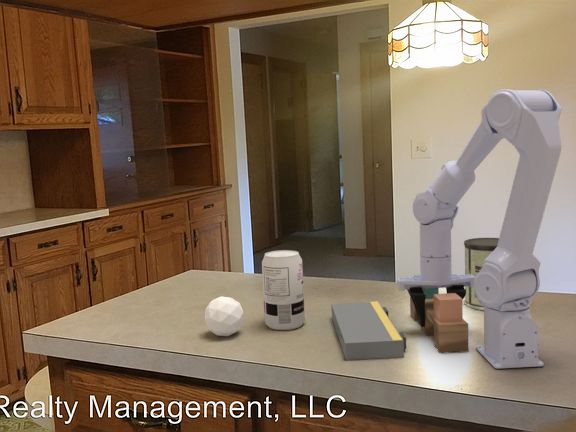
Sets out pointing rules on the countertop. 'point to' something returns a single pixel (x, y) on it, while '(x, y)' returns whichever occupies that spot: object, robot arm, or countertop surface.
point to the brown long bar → (443, 329)
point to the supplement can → (283, 290)
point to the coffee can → (476, 264)
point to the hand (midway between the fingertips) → (436, 324)
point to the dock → (367, 331)
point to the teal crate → (429, 291)
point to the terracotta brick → (448, 307)
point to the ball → (224, 316)
